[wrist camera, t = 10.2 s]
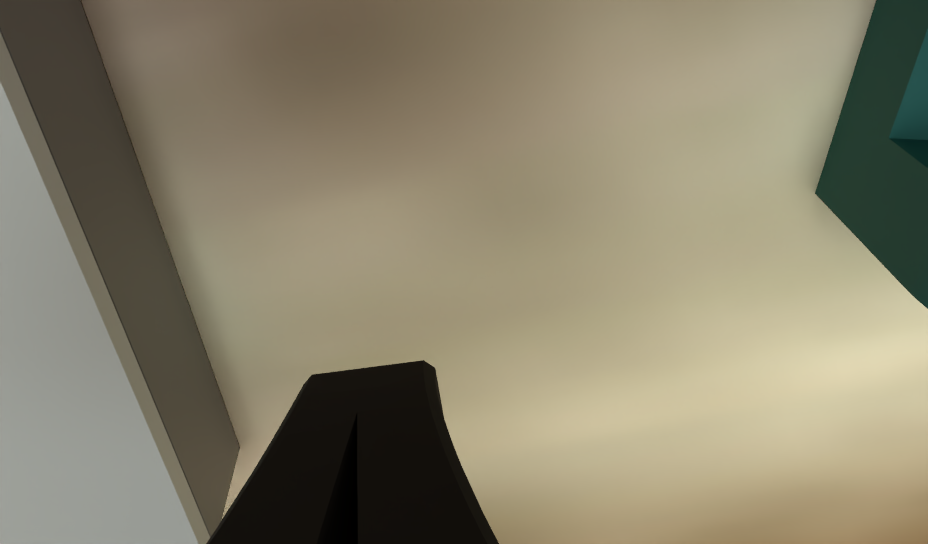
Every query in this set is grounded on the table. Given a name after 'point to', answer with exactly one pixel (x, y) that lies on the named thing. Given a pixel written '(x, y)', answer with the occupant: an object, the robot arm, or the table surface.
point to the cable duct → (123, 235)
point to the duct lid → (70, 373)
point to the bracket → (886, 145)
